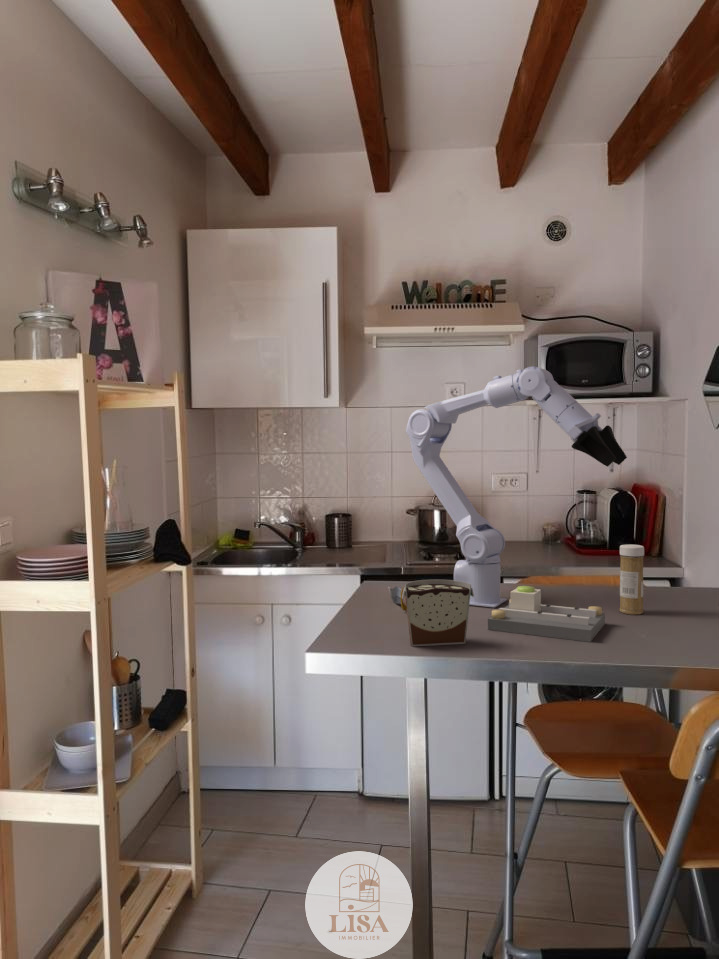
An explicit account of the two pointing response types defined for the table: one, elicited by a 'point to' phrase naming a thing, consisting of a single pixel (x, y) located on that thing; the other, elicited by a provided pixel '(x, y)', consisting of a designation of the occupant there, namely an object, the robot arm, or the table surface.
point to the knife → (398, 596)
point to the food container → (437, 611)
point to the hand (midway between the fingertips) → (617, 462)
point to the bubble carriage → (525, 599)
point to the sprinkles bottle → (631, 579)
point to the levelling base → (550, 622)
